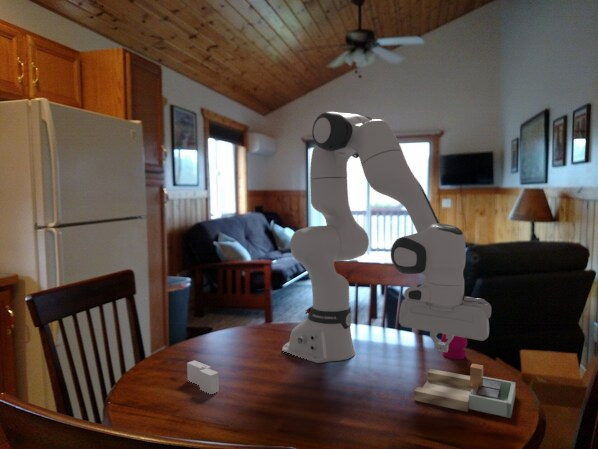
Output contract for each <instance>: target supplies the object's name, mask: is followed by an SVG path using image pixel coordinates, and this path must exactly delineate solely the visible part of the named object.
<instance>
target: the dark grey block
mask: <svg viewBox="0 0 598 449" xmlns="http://www.w3.org/2000/svg"><path fill="white" fill-rule="evenodd" d="M482 387H485V388H490V389H495V390H499V400H500V398H501V382H495V381H490V380H485V379H483V385H482Z"/></svg>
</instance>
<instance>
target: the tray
mask: <svg viewBox="0 0 598 449" xmlns="http://www.w3.org/2000/svg"><path fill="white" fill-rule="evenodd" d="M483 379H485V380H490V381H495V382H501V398H500V400H498V399H493V398H488V397H483V396H478V395H473V394H469V409H468V410H473V411H476V412H481V413H486V414H489V415H495V416H499V417H504V418H509V419H512V415H513V409H514V406H515V399H516V387H517V386H516V385H517V384H516V383H517V382H516V381H511V380H510V381H509V380H504V379H499V378H494V377H493V378H492V377H488V376H483Z"/></svg>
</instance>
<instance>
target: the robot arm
mask: <svg viewBox="0 0 598 449" xmlns="http://www.w3.org/2000/svg"><path fill="white" fill-rule="evenodd" d="M311 130H312V132H311V133H312V134H311V135H312V138H313V142H314V144H315V146H314V147H313V149H312V153H311V159H310V168H309V169H310V170H309V171H310V173H309V175H310V176H309V180H310V182H309V183H310V204H311V206H312V207H313V209H314V210H315V211H317V212H318V213H320V214H321V215H322V216H323V217H324V219H325V223H326V225H316V226H315V225H314V226H313V225H312V226H307V227H303V228H299V229H298V230H296V231H294V232H293V234H292V236H291V238H290V242H289V243H290V244H289V245H290V246H289V247H290V252H291V254H292V256H293V258H294V260H296V261H297V262H298V263H299V264H301V265H302V266H303V267H304V269H305V270H306V271H307V274H308V276H309V279H310V281H311V282H310V283H311V291H312V292H311V294H312V306H310V307H308V308H307V309H305V310H304V311H305V314H308V315H307V318H305V319H304V320H303V321H301V322H300V323H298V324H297V325H296V326H295V327H294V328H293V329H292V330H291V332H290V334H289V335H290V336H289V341H288V342H286V343H285V344H283V346H282V349H281V352H282V351H284V352H287V353H290V354H292V355H291V356H293V355H295V356H294V357H296V356H298V357H297V358H300V357H301V359H303V358H304V359H303V360H306V359H307V361H309V362H313V363H317V364H322V363H326V362H337V361H344V360H348V359H351V358H353V357H354V356H355V355H356V351H355V347H354V343H353V339H352V338H353V337H352V333H351V325H352V311H351V306H350V284H349V281H348V280H347V279H346V278H345V277H344V276H343V275H341V274H340V273H338V272H337V270H336V268H335V262H342V261H343V262H344V261H351V260H354V259H357V258H359V257H362V256H364V255H365V254H366V253H367V251H368V249H369V245H370V243H369V241H370V240H369V236H368V233H367V232H366V230H365V229H364V227H362V226H361V225H359V223H358V222H357V221H356V219H355V217H354V216H353V213H352V211H351V208H350V202H349V193H348V192H349V191H348V190H349V189H348V188H349V187H348V172H347V171H348V169H347V166H348V161H349V160H350V158H352V157H353V159H354V158H355V159H357V158H359V161H360V164H361V167H362V170H363V173H364V176H365V180H366V181H367V183H368V184H369V186H370V188H371V189H373V190H374V191H375V192H377V193H378V194H381V195H384V196H386V197H389V198H391V199H393V200H395V201H397V203H400V204H401V205H402V207H404V208H405V210H406V211H407V213H408V215H409V218H410V219H411V222H412V225H413V226H414V228H415V231H416V233H413V234H409V235H405V236H401V237H399V238H397V239H396V240H395V241H394V242H393V244H392V246H391V250H390V259H391V262H392V265H393V266H394V268H395V269H396V270H397V271H398V272H399V273H401V274H405V275H416V274H420V275H423V276H424V283H419V284H417V283H416V284H413V285H410V286H408V288H406V289H405V290H404V291H403V297H404V299H403V300H402V301H401V304H400V308H399V315H398V323H399V324H400V326H401V327H403V328H408V329H414V330H420V331H425V332H429V337H430V338H431V341H432V342H433V344H434V346H433V347H434V351H439V352H442V353H443V352H448V346H449V343H450V342H451V341H452V339H453V338H454V336H458V337H464V338H467V339H471V340H476V341H480V342H481V341H482V342H483V341H485V340H487V339H488V338H489V334H490V323H489V322H490V321H489V319H490V318H491V317H492V305H491V304H490V303H489V302H488V301H486V299H484V298H480V297H479V298H475V297H471V296H465V278H464V270H465V267H466V262H467V260H466V256H467V255H466V253H467V252H466V249H467V248H466V238H465V235H464V232H463V230H462V229H460V228H459V227H457V226H455V225H452V224H449V223H448V224H446V223H440V222H439V219H438V216H437V215H436V213H435V211H434V209H433V207H432V205H431V202H430V200H429V198H428V196H427V194H426V191H425V190H424V188H423V187H422V185H421V183H420V182H419V181H418V179H417V178H416V176H415V175H414V173H413V171H412V170H411V168H410V165H408V162H407V160H406V158H405V155H404V152H403V149H402V146H401V144H400V142H399V140H398V138H397V135H396V134H395V132H394V130H393V128H392V127H391V125H390V124H389V123H388V122H387V121H385V120H384V119H378V118H377V119H376V118H375V119H374V118H371V117H369V116H364V115H360V114H357V113H354V112H353V113H351V112H348V113H347V112H337V111H327V112H323V113H321V114H319V115H318V116H316V118H315V121H313V126H312V129H311ZM438 334H442V335H443V334H446V339H448V340H447V342H446V343H444V342H441V341H440V340H439V339H438V337H437V335H438ZM284 352H283V353H284ZM287 353H286V354H287ZM290 354H289V355H290Z"/></svg>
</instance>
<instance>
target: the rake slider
mask: <svg viewBox="0 0 598 449" xmlns="http://www.w3.org/2000/svg"><path fill="white" fill-rule="evenodd" d="M469 373H470V374H469V376H470V386H473V387H472V390H471V394H473V395H477V393H478V390H479V388H482V385H483V377H484V365H482V364H477V363H471V365H470V372H469Z"/></svg>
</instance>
